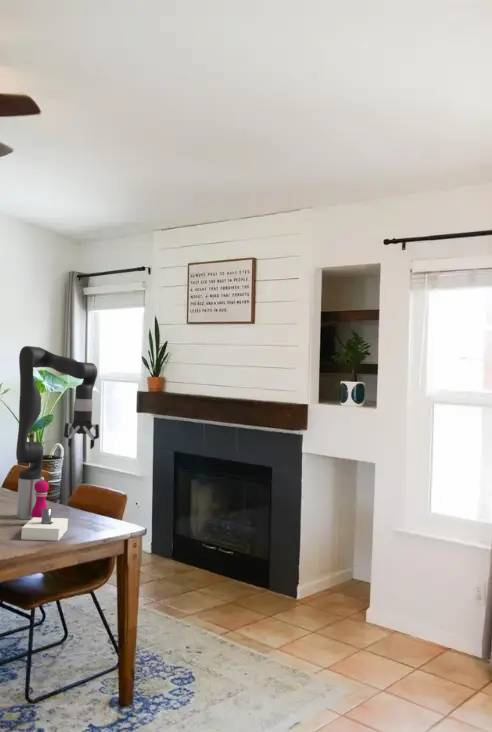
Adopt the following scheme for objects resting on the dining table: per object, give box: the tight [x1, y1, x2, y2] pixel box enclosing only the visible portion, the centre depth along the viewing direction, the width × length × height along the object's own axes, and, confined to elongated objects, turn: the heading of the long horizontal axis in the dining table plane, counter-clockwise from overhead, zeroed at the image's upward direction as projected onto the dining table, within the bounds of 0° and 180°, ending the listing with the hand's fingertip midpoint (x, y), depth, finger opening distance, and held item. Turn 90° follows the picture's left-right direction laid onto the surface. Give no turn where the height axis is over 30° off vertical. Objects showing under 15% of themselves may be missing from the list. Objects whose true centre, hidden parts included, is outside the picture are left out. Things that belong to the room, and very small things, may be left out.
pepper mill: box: [31, 476, 50, 518], centre depth 303 cm, size 7×7×20 cm
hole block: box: [20, 517, 69, 542], centre depth 285 cm, size 20×14×4 cm
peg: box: [41, 507, 53, 524], centre depth 285 cm, size 4×4×10 cm
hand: (80, 448), depth 301 cm, fingers open, 8 cm apart
